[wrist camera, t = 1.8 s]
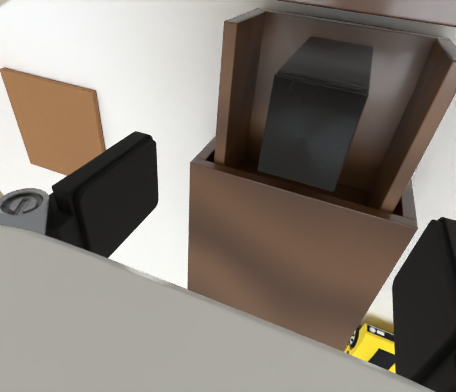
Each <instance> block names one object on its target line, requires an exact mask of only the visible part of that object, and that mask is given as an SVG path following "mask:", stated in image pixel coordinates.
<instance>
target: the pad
mask: <svg viewBox="0 0 456 392" xmlns="http://www.w3.org/2000/svg"><path fill="white" fill-rule="evenodd" d="M0 72H1V75H2V78H3V81H4V84H5V87H6V90H7V93H8V96H9V99H10V102H11V105H12V108H13V111H14V114H15V117H16V120H17V123H18V126H19V129H20V132H21V135H22V138H23V141H24V144H25V147H26V150H27V153H28V156H29V159H30V162H31V164H34V165H37V166H40V167H43V168H46V169H49V170H52V171H55V172H58V173H61V174H64V175H67V176H68V175H70V174H71V173H73V172H74V171H76V170H77V169H79V168H80V167H82V166H83V165H85V164H86V163H88V162H89V161H91V160H92V159H94V158H95V157H97V156H98V155H100V154H101V153H103V152H104V151H105V146H104V140H103V133H102V127H101V121H100V115H99V109H98V103H97V97H96V91H94V90H90V89H86V88H82V87H78V86H74V85H70V84H66V83H62V82H58V81H54V80H50V79H46V78H42V77H38V76H34V75H30V74H26V73H22V72H19V71H15V70H11V69H7V68H2V69H0Z"/></svg>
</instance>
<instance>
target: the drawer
mask: <svg viewBox="0 0 456 392" xmlns="http://www.w3.org/2000/svg"><path fill="white" fill-rule="evenodd" d="M279 1H285V2H292V3H299V4H305V5H312V6H319V7H325V8H332V9H339V10H345V11H352V12H359V13H365V14H372V15H379V16H385V17H392V18H399V19H405V20H412V21H419V22H425V23H432V24H439V25H445V26H452V27H456V0H279ZM311 36H312V37H318V38H324V39H329V40H335V41H341V42H347V43H352V44H358V45H364V46H370V47H373V57H372V67H371V77H370V87H369V96H368V99H367V101H366V104H365V107H364V110H363V112H362V115H361V118H360V121H359V123H358V126H357V129H356V132H355V135H354V137H353V140H352V143H351V146H350V148H349V151H348V154H347V157H346V159H345V162H344V165H343V168H342V170H341V173H340V176H339V179H338V182H337V184H336V187H335V190H334V191H329V190H325V189H321V188H318V187H314V186H311V185H307V184H304V183H300V182H297V181H293V180H289V179H286V178H282V177H279V176H275V175H272V174H268V173H265V172H261V171H258V164H259V159H260V153H261V147H262V141H263V135H264V130H265V124H266V118H267V112H268V106H269V101H270V95H271V89H272V83H273V77H274V75H275V74H276V72H277V71H278V70H279V69H280V68H281V67H282V66H283V65H284V64H285V63H286V62H287V61H288V60H289V59H290V58H291V57H292V55H293V54H294V53H295V52H296V51H297V50H298V49H299V48H300V47H301V46H302V45H303V44H304V43H305V42H306V41H307V40H308V39H309V38H310V37H311ZM455 93H456V46H455V45H454V44H453V43H452V42H451V40H450V39H449V38H443V37H437V36H431V35H425V34H418V33H412V32H406V31H399V30H393V29H387V28H380V27H374V26H368V25H361V24H355V23H349V22H342V21H336V20H330V19H324V18H317V17H311V16H305V15H298V14H292V13H286V12H279V11H273V10H267V9H260V8H258V9H255V10H253V11H250V12H247V13H245V14H242V15H240V16H237V17H234V18H232V19H229V20H226V21H225V22H224V32H223V45H222V59H221V73H220V86H219V100H218V114H217V128H216V141H215V155H214V163H216V164H219V165H223V166H226V167H230V168H233V169H237V170H240V171H244V172H247V173H251V174H254V175H258V176H261V177H265V178H269V179H272V180H276V181H279V182H283V183H286V184H290V185H293V186H297V187H300V188H304V189H307V190H311V191H314V192H318V193H321V194H325V195H328V196H332V197H335V198H339V199H342V200H346V201H349V202H353V203H356V204H360V205H363V206H367V207H370V208H374V209H377V210H381V211H384V212H388V213H391V214H392V213H393V211H394V209H395V207H396V205H397V203H398V202H399V200H400V198H401V196H402V194H403V192H404V190H405V188H406V186H407V185H408V183H409V181H410V179H411V177H412V175H413V173H414V171H415V169H416V167H417V166H418V164H419V162H420V160H421V158H422V156H423V154H424V152H425V150H426V148H427V147H428V145H429V143H430V141H431V139H432V137H433V135H434V133H435V131H436V129H437V128H438V126H439V124H440V122H441V120H442V118H443V116H444V114H445V112H446V111H447V109H448V107H449V105H450V103H451V101H452V99H453V97H454V95H455Z"/></svg>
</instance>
